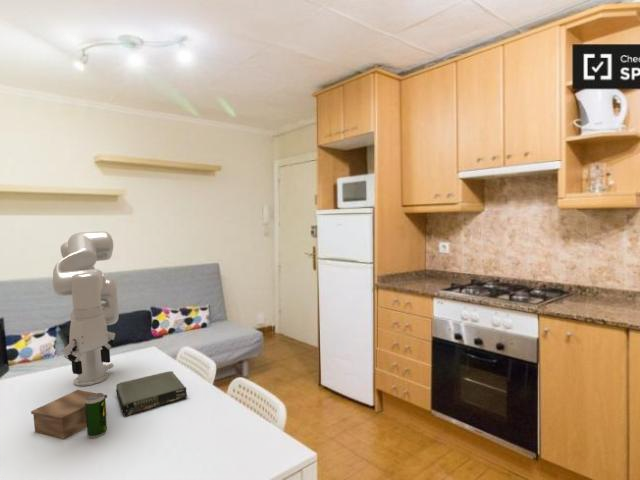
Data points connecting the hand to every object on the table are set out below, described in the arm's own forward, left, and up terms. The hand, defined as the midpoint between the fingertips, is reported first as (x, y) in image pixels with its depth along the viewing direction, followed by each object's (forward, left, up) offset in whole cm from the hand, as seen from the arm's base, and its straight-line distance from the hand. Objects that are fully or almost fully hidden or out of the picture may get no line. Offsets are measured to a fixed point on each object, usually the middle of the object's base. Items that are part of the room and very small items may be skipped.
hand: (92, 367), depth 122 cm
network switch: (-25, -3, -22) cm, 33 cm away
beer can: (0, 0, -21) cm, 21 cm away
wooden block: (-2, -14, -21) cm, 26 cm away
